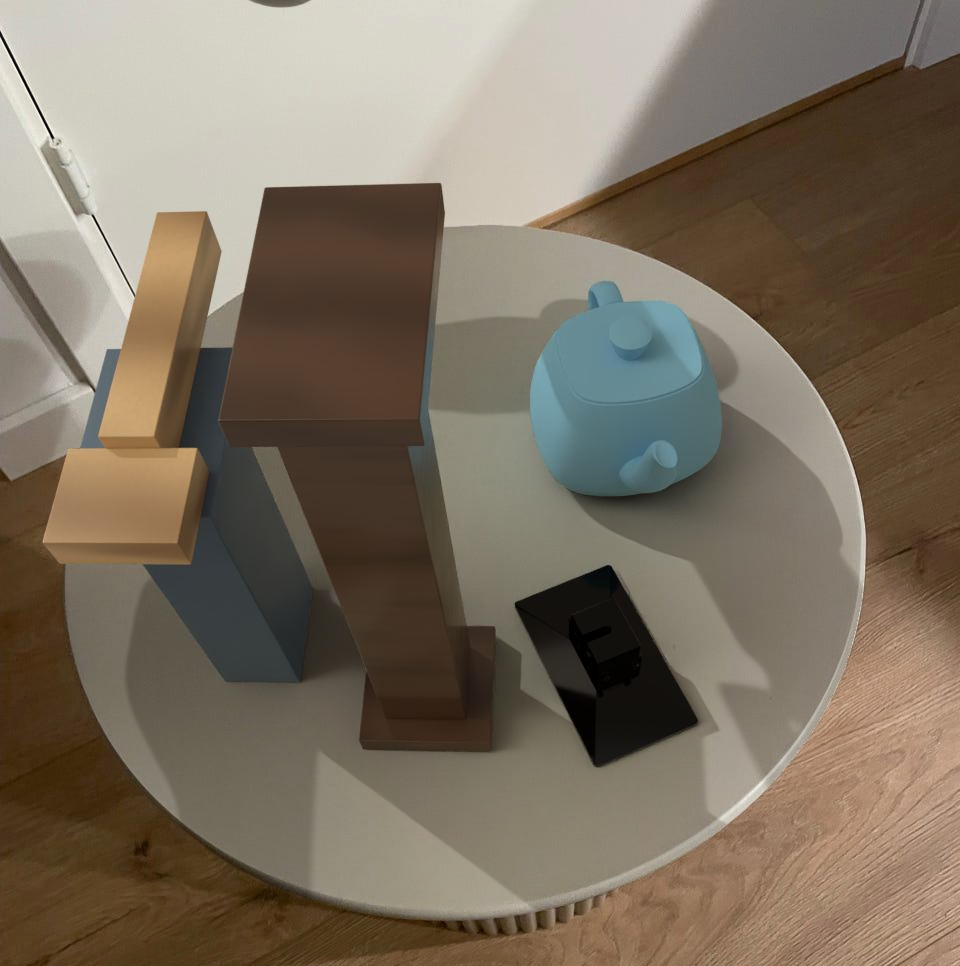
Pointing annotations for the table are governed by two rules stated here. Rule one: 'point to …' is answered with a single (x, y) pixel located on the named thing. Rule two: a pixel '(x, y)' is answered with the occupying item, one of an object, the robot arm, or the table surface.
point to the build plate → (605, 665)
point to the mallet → (146, 418)
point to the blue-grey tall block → (230, 545)
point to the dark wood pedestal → (365, 442)
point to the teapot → (624, 398)
